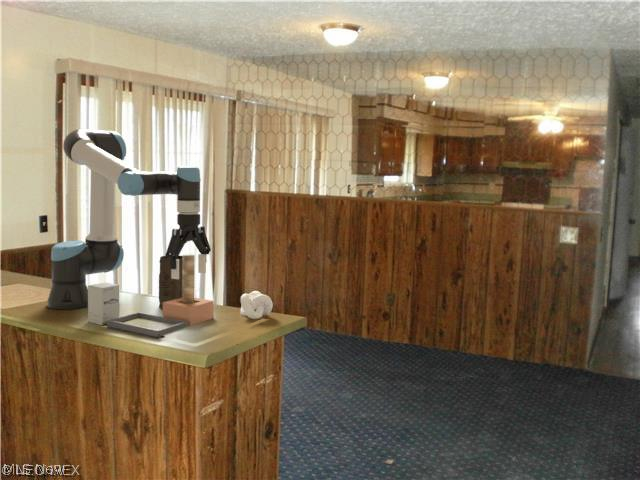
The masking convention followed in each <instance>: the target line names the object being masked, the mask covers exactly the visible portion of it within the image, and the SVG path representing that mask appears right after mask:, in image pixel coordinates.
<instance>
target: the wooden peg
mask: <svg viewBox="0 0 640 480" xmlns="http://www.w3.org/2000/svg"><path fill="white" fill-rule="evenodd" d="M182 256H183V271H182V303H183V304H189V305H190V304H193V303H194V298H195V284H196V283H195V276H196V275H195V272H196V271H195V262H196V261H195V260H196V259H195V254H189V253H188V254H187V253H186V254H182Z"/></svg>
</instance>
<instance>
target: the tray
mask: <svg viewBox="0 0 640 480" xmlns="http://www.w3.org/2000/svg"><path fill="white" fill-rule="evenodd" d="M137 318H142V319H146V320H152V321H156V322H161V323H166V324H170V326H166V327H163V328H159V329H154V328H149V327H145V326H140V325H136V324H131V323H126V322H125V321H130V320H133V319H137ZM171 324H172V325H171ZM186 327H189V325H188V321H183V320H178V319H173V318H167V317H163V315H157V314H151V313H146V312H141V311H137V312H134V313H130V314H126V315H123V316H119V317H118V318H114V319H110V320H107V321H106V328H107V329H111V330H116V331H119V330H120V332H125V333H130V334H133V335H138V336H143V337H146V338H147V337H148V338H152V339H157V340H159V339H163V338H165V337H166V335H165V334H169V333H170V332H171V333H172V332H175V331H177V330H181V329H183V328H186Z"/></svg>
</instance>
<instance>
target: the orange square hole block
mask: <svg viewBox="0 0 640 480" xmlns="http://www.w3.org/2000/svg"><path fill="white" fill-rule="evenodd" d="M214 302H215V301H214V300H210V299H209V300H208V299H205V298H199V297H194V303H193V304H190V305H189V304H183V303H182V298H178V299H174V300H171V301H167V302H163V309H162V317H167V318H173V319H178V320H183V321H188V326H193V325H197V324H199V323H203V322H205V321H209V320H211V319H214Z"/></svg>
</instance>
